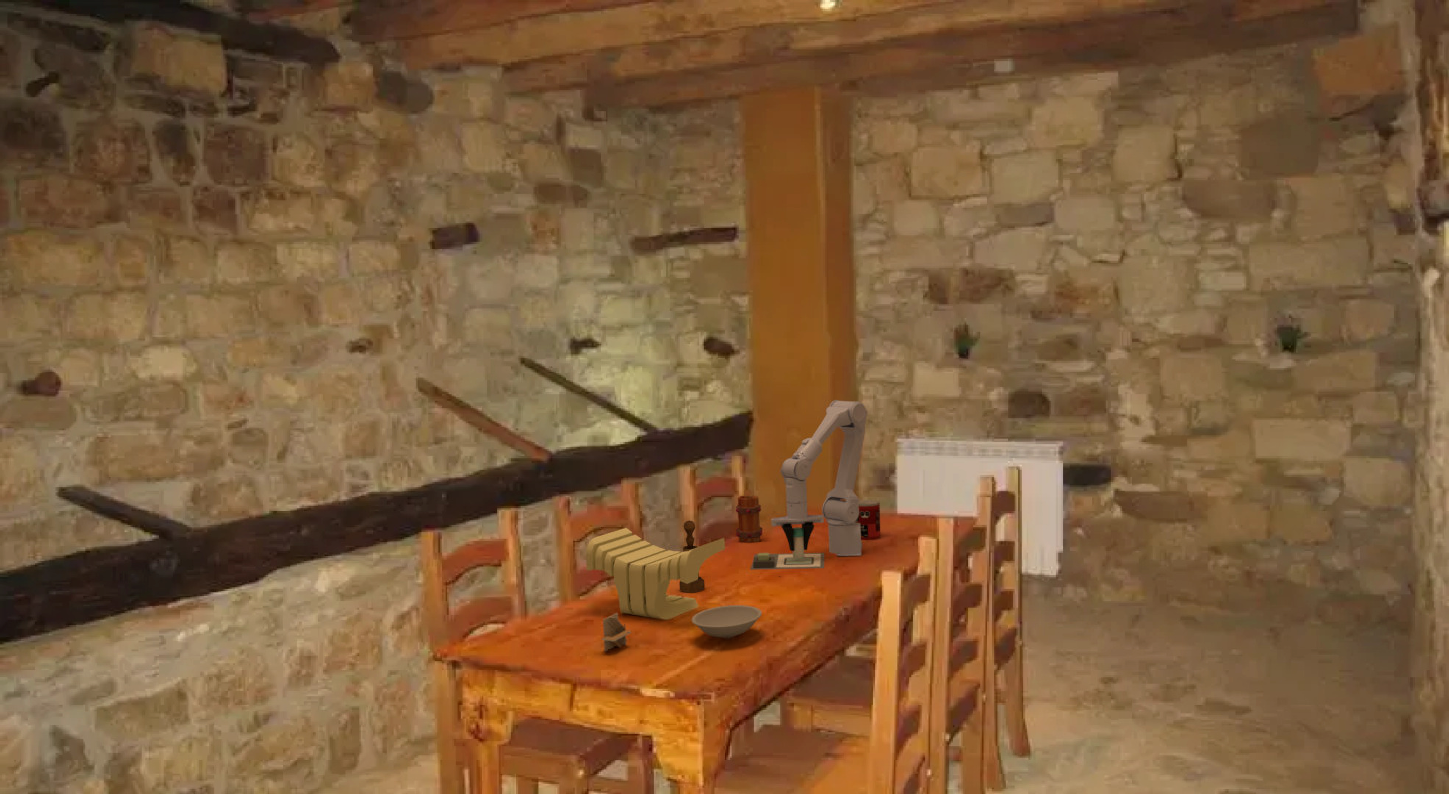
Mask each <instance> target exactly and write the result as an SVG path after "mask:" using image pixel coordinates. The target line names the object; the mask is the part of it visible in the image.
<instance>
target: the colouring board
mask: <svg viewBox="0 0 1449 794" xmlns="http://www.w3.org/2000/svg"><path fill="white" fill-rule="evenodd" d="M769 556H770V561H758V553H756V554H755V553H754V556H753V559H752V562H751V567H750V570H751V571H752V570H790V569H791V570H793V569H794V570H795V569H796V570H797V569H803V570H804V569H824V568H825V552H804V558H793V552H792V553H769Z"/></svg>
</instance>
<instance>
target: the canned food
mask: <svg viewBox="0 0 1449 794" xmlns="http://www.w3.org/2000/svg"><path fill="white" fill-rule="evenodd" d="M858 507H859V515H858V518H857V520H856V521H855V523H860V530H861V541H862V540H863V541H869V540H870V541H871V540H877V539H879V538H881V510H880V509H881V506H880V501H879V500H877V499H859V504H858Z"/></svg>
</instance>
